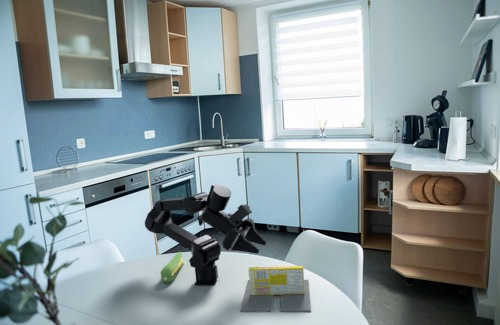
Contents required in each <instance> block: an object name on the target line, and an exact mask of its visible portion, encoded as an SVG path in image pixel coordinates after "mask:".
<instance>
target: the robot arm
mask: <svg viewBox="0 0 500 325" xmlns="http://www.w3.org/2000/svg"><path fill="white" fill-rule="evenodd" d="M231 197H232V191H231V189H230V188H228V187H226V186H224V185H219V184H218V183H214V184H212V185H211V186H210V190H209V192H208V193H207V192H205V191H202V192H198V193H195V194H192V195H189V196H186V197H185V196H184V197H175V198H168V197H166V198H164V199H160V200H157V201H156V202H155V203H154V206H153V208H151V210H150V211H149V212H148V213H147V214H146V218H145V221H144V226H145V228H146V229H147V231H148V232H150V233H153V234H159V235H160V234H161V235H165V236H166V237H168V238H170V239H171V240H173V241H174V242H176V243H177V244H180V245H181V246H182V247H184V248H186V249H187V250H189V251H190V252H191V255H192V256H191V257H190V258H189V260H188V262H189V264H190V267H191V268H194V271H195V272H194V273H195V282H194V285H195V286H215V284H216V282H217V280H218V278H219V272H218V266H217V265H216V262H217V261H219V260H220V255H221V252H222V250H221V248H223V249H224V250H226V251H228V252H229V251H231V252H236V251H237V252H245V253H251V254H259V253H260V249H259V248H258V247H257V246H255V244H257V245H261V246H266V244H267V241H266V240H265V239H264V238H263V237H262V236H261V235H260V233H259V232H258V231H257V230H256V226H255V224H256V223H255V222H254V220H253V219H252V218H250V217H248V218H246V217H247V216H249V215H251V214H252V213H253V210H251V209H250V208H251V207H250V205H247V204H246V203H245V204H244V203H242V204H240V205H239V206H238V207H237V210H236V211H234V213H231V212H230V213H225V212H224V211H225V209H226V208H227V205H228V204H229V201H230V199H231ZM172 211H185V212H186V213H189V214H193V215H194V214H197V213H200V212H201V214H200V215H198V217H197V221H198V222H197V223H198V226H200V227H201V226H202V225H204V224H205V223H206V224H207V225H209V226H210V227H212V228H213V229H214V230H215V233H216V234H222V235H224V236H225V237H224V239H223V240H222V242H221V245H220V243H219V242H218V241H216V238H213V237H211V236H209V234H205V235H203V236H200V237H198V236H197V235H195V234H194V233H191V232H190V231H188V230H186V229H185V228H183V227H181V226H179V225H177V224H176V223H174V222H173V221H172V218H171V217H172V215H173V214H172ZM253 243H254V244H253ZM221 246H222V247H221Z"/></svg>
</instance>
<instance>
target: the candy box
mask: <svg viewBox="0 0 500 325" xmlns="http://www.w3.org/2000/svg"><path fill="white" fill-rule="evenodd" d="M304 273H305V272H304V266H303V265H294V266H293V265H292V266H291V265H290V266H289V265H287V266H285V265H284V266H257V267H251V266H250V267H249V268H248V277H249V279H248V280H250V294H251V295H273V296H275V295H277V296H278V295H279V296H280V295H281V296H282V295H288V294H305V289H304V280H305V278H304V277H305V276H304V275H305V274H304Z"/></svg>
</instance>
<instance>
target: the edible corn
mask: <svg viewBox="0 0 500 325" xmlns="http://www.w3.org/2000/svg"><path fill="white" fill-rule="evenodd" d="M184 263H185V262H184V259H183V252H181V251H179V252H177V253H176V254H175V255H174V256H173V258H172V259H170V260H169V262H168V263H167V264H165V265H164V267H163V268H162V269H161V270H160V278H161V279H162V282H163V283H171V282H173V281H174V279H175V277H176V276H177V274H179V272H180V270H181V268H182V266H184Z"/></svg>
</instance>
